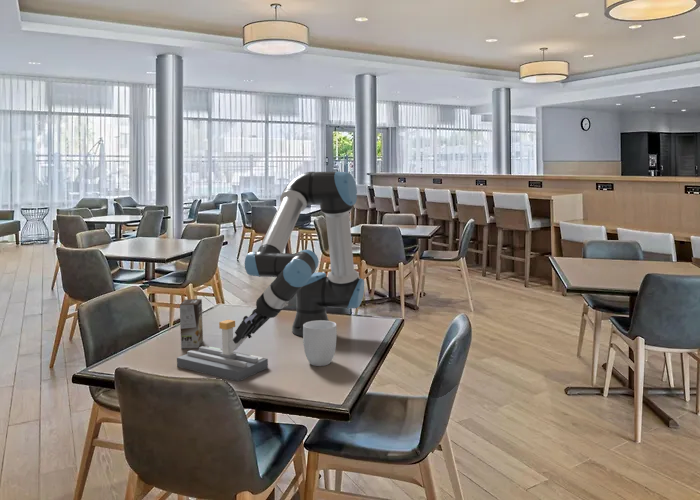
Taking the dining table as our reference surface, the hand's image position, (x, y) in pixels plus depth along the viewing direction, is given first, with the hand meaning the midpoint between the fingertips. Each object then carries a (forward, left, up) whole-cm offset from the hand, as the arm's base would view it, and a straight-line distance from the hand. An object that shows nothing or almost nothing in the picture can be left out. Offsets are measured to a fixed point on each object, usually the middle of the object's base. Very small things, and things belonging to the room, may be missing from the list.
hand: (232, 346), depth 178 cm
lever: (+2, -2, -4) cm, 5 cm away
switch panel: (+4, -3, -8) cm, 9 cm away
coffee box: (+21, -27, -8) cm, 35 cm away
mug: (-27, -9, -8) cm, 29 cm away
